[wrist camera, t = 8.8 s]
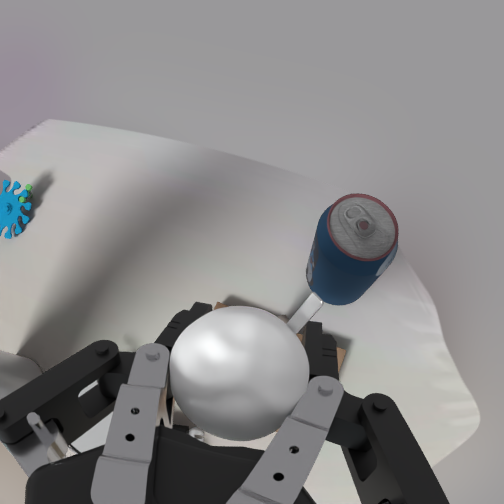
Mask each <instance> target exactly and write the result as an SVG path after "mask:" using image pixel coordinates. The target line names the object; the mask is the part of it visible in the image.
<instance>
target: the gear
mask: <svg viewBox="0 0 504 504" xmlns="http://www.w3.org/2000/svg"><path fill="white" fill-rule="evenodd" d="M9 185H10V182H9V181H7V180H4V181H3V191H2V194H1V195H0V236H1V232H2V230H3V229H4V228H5V227H6V226H7V227H8V231H7V232H6V233H5V238H7V239H11V237H12V234H11V228H12V225H13V224H14V223H15V224H16V229H15V233H16V234H19V233H21V232H22V228H21V227H20V225H19V221H18V218H19V216H22V221H23V223H24V224H27V223H28V221H29V220H30V218H29V217H28V216H25V215H24V214H23V213H22V211H21V207H22V206H24V207H25V209H26V210H30V209H31V203H29V202H27V203H25V202H26V201H27V200H28V199H29V198H30V197H31V196H32V194H31V190H32V186H31V185H30V184H27V185H26V190H23V191H22V192H21V193H20V194H17V195H14V190H15V189H19V188H20V187H21V185H20V183H18V182H17V181H15V182H14V185H13V187H12V189H11V190H10V191H9V192H8V193H7V192H6V189H7V187H8V186H9Z"/></svg>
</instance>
